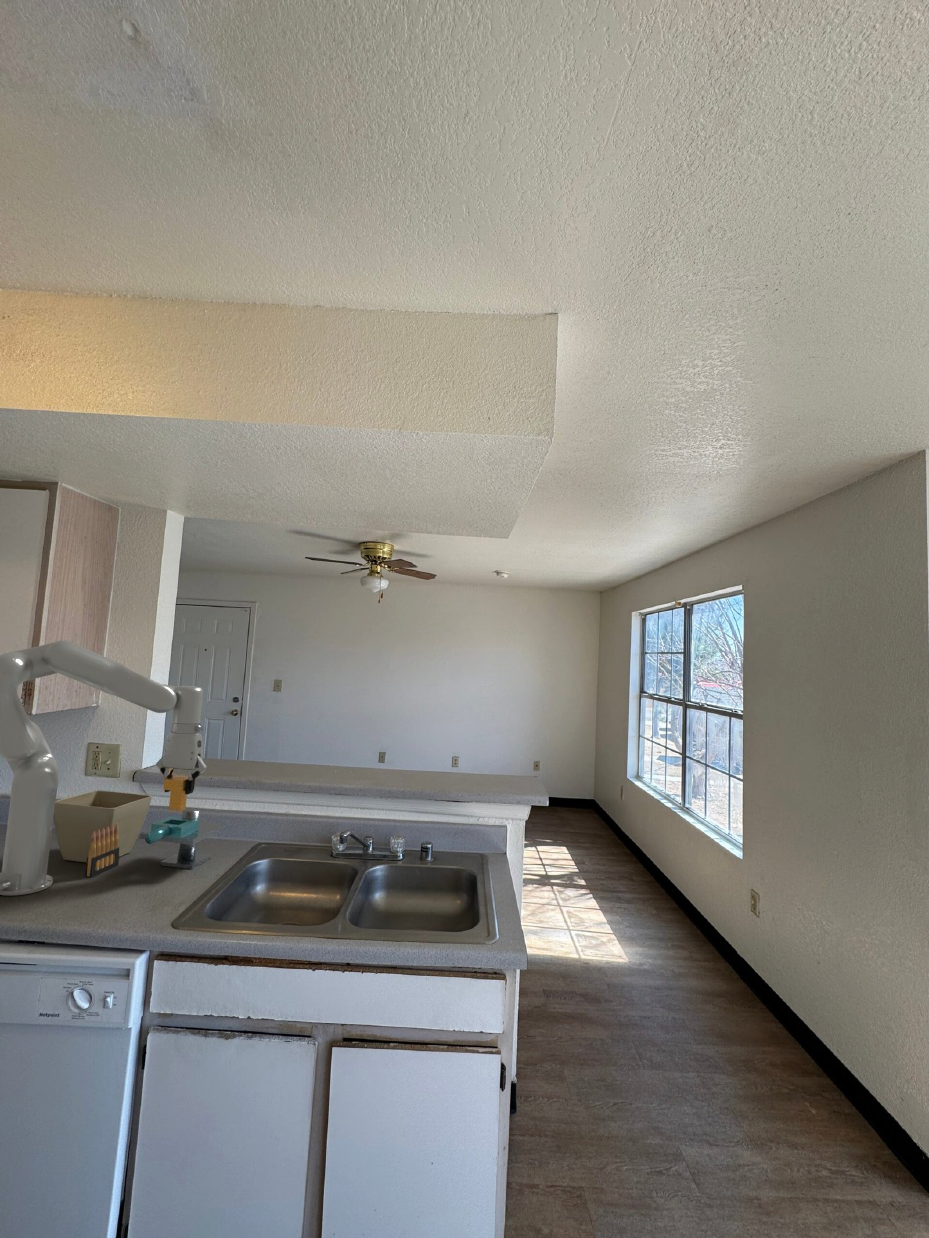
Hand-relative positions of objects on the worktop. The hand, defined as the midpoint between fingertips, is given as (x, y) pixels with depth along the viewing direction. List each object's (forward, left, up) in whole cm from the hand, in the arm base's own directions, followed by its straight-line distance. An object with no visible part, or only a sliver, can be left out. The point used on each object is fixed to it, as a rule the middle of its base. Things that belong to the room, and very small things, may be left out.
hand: (178, 791), depth 175 cm
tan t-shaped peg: (0, 0, -5) cm, 5 cm away
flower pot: (+4, +26, -22) cm, 34 cm away
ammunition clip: (-6, +16, -22) cm, 28 cm away
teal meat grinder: (+1, 0, -22) cm, 22 cm away
